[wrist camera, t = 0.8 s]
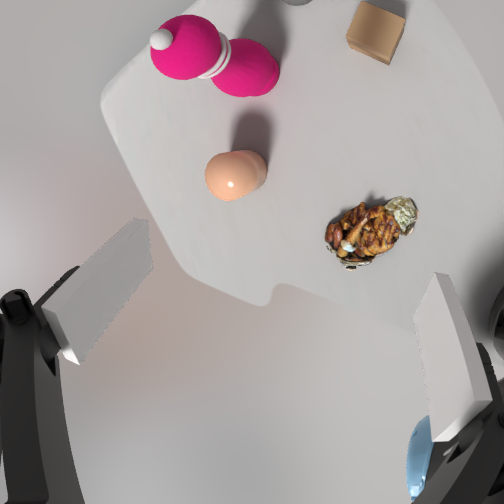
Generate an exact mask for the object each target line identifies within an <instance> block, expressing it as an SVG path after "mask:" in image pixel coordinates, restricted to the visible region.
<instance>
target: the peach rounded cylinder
mask: <svg viewBox="0 0 504 504" xmlns="http://www.w3.org/2000/svg"><path fill="white" fill-rule="evenodd" d="M266 177H267V166H266V163H265V161H264V159H263V158H262V157H261V156H260V155H259V154H258V153H256V152H255V151H252V150H239V151H232V152H226V153H220V154H218V155H216V156H214V157H213V158H212V159H211V160H210V161H209V163H208V164H207V167H206V170H205V180H206V184H207V186H208V188H209V190H210V191H211V193H212V194H213V195H214V196H216V197H217V198H219V199H221V200H225V201H232V200H235V199H238V198H240V197H242V196H244V195H246V194H248V193H250V192H252V191H255V190H257V189H258V188H260V187H261V186H262V185H263V183H264V182H265V180H266Z"/></svg>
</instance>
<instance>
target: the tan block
mask: <svg viewBox="0 0 504 504" xmlns="http://www.w3.org/2000/svg"><path fill="white" fill-rule="evenodd" d="M405 21H406V19H404V18H402V17H399V16H397V15H395V14H393V13H391V12H388V11H386V10H384V9H381V8H379V7H376V6H374V5H371V4H369V3H366V2H363V1H361V3H360V5H359V8H358V10H357V12H356V14H355V16H354V18H353V21H352V23H351V25H350V27H349V29H348V32H347V34H346V38H347V41H348V44H349V46H350V48H352V49H354V50H356V51H359V52H361V53H363V54H365V55H368V56H370V57H372V58H374V59H376V60H378V61H381V62H383V63H385V64H387V65H389V64H390V62H391V60H392V57H393V55H394V53H395V51H396V48H397V46H398V44H399V41H400V39H401V37H402V35H403V31H404V26H405Z"/></svg>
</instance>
